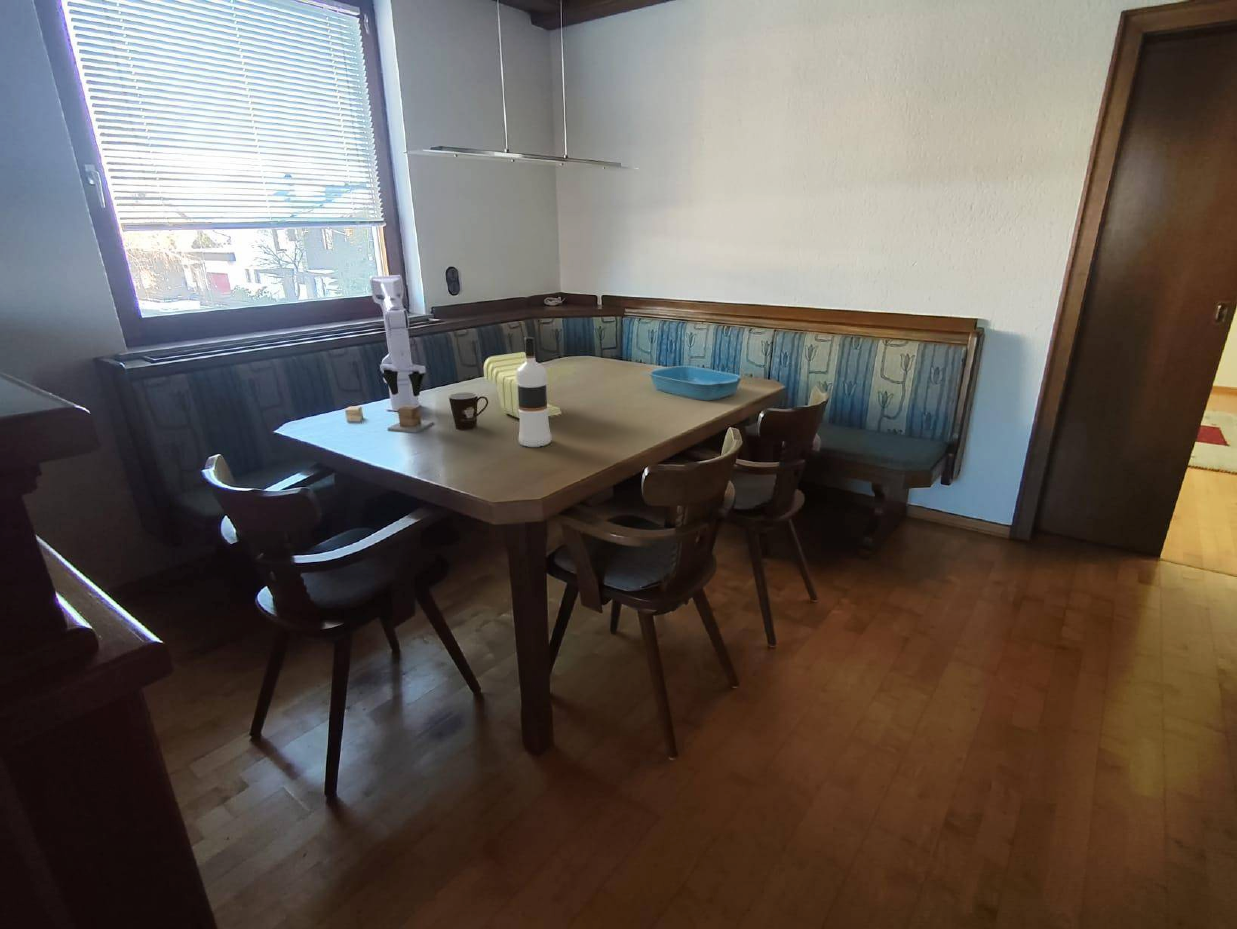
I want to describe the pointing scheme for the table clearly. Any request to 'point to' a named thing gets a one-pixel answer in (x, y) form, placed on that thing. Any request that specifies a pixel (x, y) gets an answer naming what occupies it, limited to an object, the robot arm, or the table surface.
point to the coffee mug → (465, 409)
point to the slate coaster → (411, 429)
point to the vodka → (532, 400)
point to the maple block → (354, 413)
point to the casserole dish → (695, 382)
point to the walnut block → (409, 416)
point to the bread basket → (506, 381)
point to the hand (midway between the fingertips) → (405, 394)
